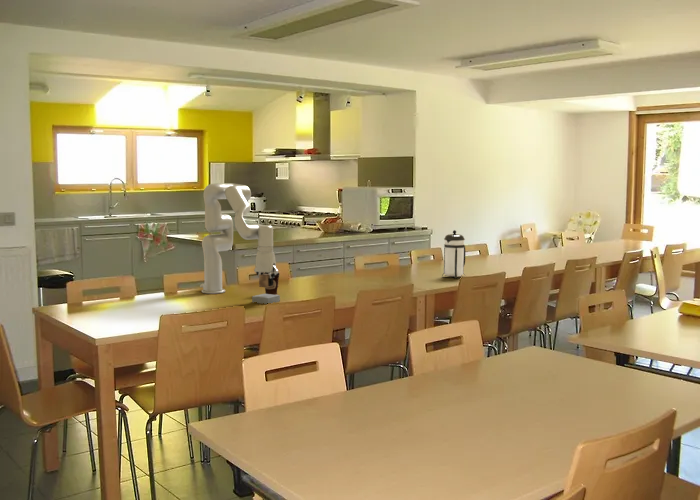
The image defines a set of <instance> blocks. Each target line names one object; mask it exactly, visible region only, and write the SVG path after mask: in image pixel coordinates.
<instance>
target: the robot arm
mask: <svg viewBox="0 0 700 500" xmlns="http://www.w3.org/2000/svg"><path fill="white" fill-rule="evenodd" d="M202 194H203V201H204V202H203V203H204V227H205V229H206V231H207V232H209V233H211V234H207V235H205V236H203V238H202V241H201V246H202V251H203V265H204V266H203V267H204V268H203V269H204V273H203V274H204V275H203V279H204V283H201V284H199V287H200V288H202V289H201V293H203V294H208V295H210V294H211V295H212V294H213V295H214V294H222V293H225V292H226V289H225V288H223V260H222V257H221V254H220V253H219V252H227V251H229V250H231V249H232V247H233V244H234V228H235V230H236V232H237V233H238V234H239V236H240V237H241V238H242V239H244V240H246V241H247V240H257V243H258V244H257V245H258V246H257V247H256V249H257V252H256V256H255V268H254V269H253V271H254V272H255V274H256V275H257V277H258V278H259V275H262V274H264V273H268V274H269V278H268V285H269V286H273V278H274V276H275V275H276V274H277V273H279V270H278V268H277V261H276V260H277V259H276V255H275V252H274V227H273V225H271V224H270V225H269V224H266V225H265V224H261V223H254V224H247V223H246V221H245V219H244V217H245V216H246V215H247V214H248V213H249V212H250V210H251V205H250V204H249V200H250V199H251V197H252V192H251V189H250V187H249V186H247V185H245V184H240V183H234V182H233V183H230V182H227V183H224V182H223V183H221V182H220V183H219V182H218V183H211V184H207V186H206V187H204V191H203V193H202ZM219 200H227V202H228V204H229V205H230V207H231V208H232V210H233V211H234V214H235V216H234V220H233V218H232V216H230V215H229V214H227V213H222V205H221V203H220V202H219ZM234 226H235V227H234ZM216 232H218V233H216ZM212 233H214V234H212ZM273 272H274V273H273Z"/></svg>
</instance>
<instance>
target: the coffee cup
mask: <svg viewBox="0 0 700 500" xmlns="http://www.w3.org/2000/svg"><path fill="white" fill-rule="evenodd" d="M273 273H274V272H273ZM264 274H268V273H265V272H264ZM279 279H280V272H278V273H277V274H276V275H275V276H274V278H273V286H272V287H264V291H265V293H264V294H272V295H279V294H278V288H279Z"/></svg>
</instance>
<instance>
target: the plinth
mask: <svg viewBox="0 0 700 500" xmlns="http://www.w3.org/2000/svg"><path fill="white" fill-rule="evenodd" d="M251 300H252V301H251V303H254V302H257V303H256V304H263V303H264V304H265V305H268V304H267V303H271V304H274V303H273V302H275V303H278V302H280V301H281V295H279V294H278V295H272V294H265V293H260V294H256V295H252V297H251Z"/></svg>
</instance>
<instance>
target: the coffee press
mask: <svg viewBox="0 0 700 500" xmlns="http://www.w3.org/2000/svg"><path fill="white" fill-rule="evenodd" d="M443 239H444V244H443V245H444V246H443V248H444V249H443V251H444V252H443V273H442V274H441V277H444V276H445V277H447V276H448V277H453V278H454V277H455V278H457V279H458V277H462V276H463V275H465V273H464V271H465V270H464V269H465V268H464V267H465V265H466V245H465V240H466V239H465V237H464V236H463V234H459V233H458V234H457V230H455V229H454V230H453V231H452V233H449V234H446V235H445V237H444V238H443ZM455 278H454V279H455Z"/></svg>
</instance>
